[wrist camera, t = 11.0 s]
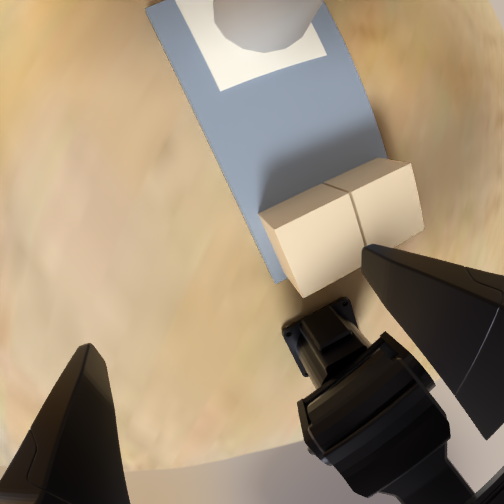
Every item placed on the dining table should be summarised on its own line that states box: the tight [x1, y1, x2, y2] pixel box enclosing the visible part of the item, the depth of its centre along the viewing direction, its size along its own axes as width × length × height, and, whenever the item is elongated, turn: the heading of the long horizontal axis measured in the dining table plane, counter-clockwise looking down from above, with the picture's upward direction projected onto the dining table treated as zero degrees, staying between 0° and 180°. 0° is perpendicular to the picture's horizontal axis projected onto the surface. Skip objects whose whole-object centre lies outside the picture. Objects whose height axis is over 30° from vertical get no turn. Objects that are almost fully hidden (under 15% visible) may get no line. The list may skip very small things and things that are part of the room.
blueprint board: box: [145, 0, 425, 298], centre depth 18 cm, size 22×12×5 cm, turn 24°
